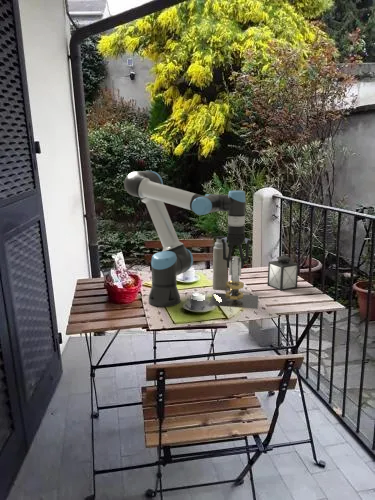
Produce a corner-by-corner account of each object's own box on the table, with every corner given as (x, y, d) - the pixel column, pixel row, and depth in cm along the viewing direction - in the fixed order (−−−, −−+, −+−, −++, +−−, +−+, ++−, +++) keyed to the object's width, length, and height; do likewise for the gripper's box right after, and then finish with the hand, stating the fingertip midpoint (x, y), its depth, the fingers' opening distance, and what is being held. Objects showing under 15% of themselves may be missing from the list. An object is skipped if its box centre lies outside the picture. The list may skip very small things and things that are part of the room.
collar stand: (208, 308, 188) (208, 286, 186) (213, 295, 205) (213, 275, 203) (257, 311, 184) (258, 289, 181) (258, 298, 201) (259, 277, 199)
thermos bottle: (228, 286, 219) (229, 235, 213) (227, 291, 212) (228, 238, 206) (213, 286, 221) (214, 234, 215) (211, 290, 213) (212, 237, 207)
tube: (230, 293, 196) (231, 256, 192) (239, 293, 195) (240, 256, 191) (229, 295, 192) (230, 258, 188) (238, 296, 191) (239, 258, 187)
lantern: (283, 282, 227) (285, 232, 221) (297, 288, 218) (300, 236, 212) (267, 285, 222) (269, 234, 216) (281, 291, 212) (283, 238, 207)
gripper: (216, 225, 184) (215, 275, 189) (255, 226, 181) (253, 277, 186) (218, 223, 192) (217, 271, 197) (255, 224, 188) (253, 273, 193)
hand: (235, 274), depth 191 cm, fingers closed on tube, 4 cm apart
